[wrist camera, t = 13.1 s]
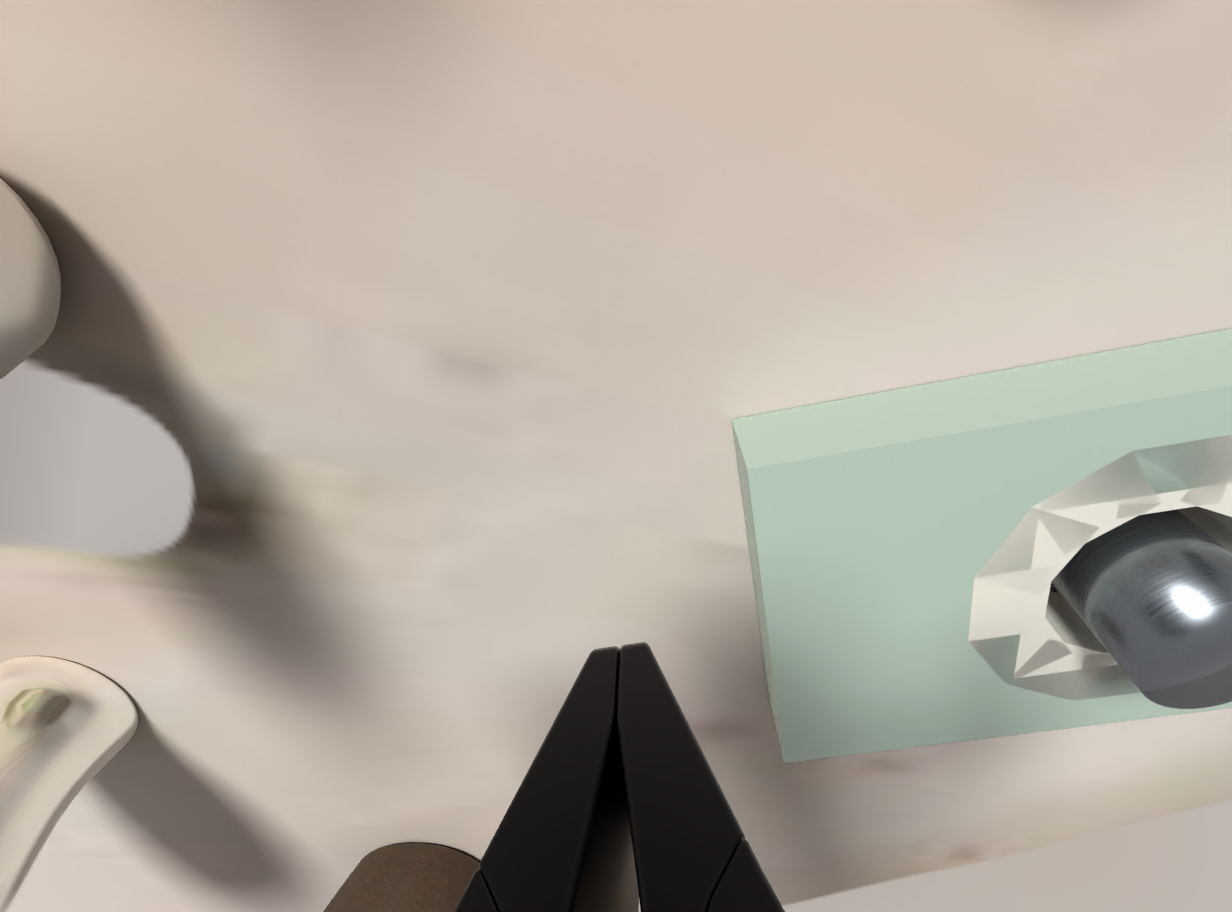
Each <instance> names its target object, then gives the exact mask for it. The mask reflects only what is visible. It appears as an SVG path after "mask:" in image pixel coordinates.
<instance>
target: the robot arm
mask: <svg viewBox="0 0 1232 912" xmlns="http://www.w3.org/2000/svg"><path fill="white" fill-rule="evenodd" d="M479 868H480V870H481V871H480V870H476V871H475V872H474V874H473V876H472V878H471V880H470V882H469V884H468V886H467V888H466V890H465V891H464V893H463V895H462V897H461V899H460V901H459V903H458V904H457V906H456V908H455V910H454V912H638V905H639V900H640V907H641V912H785V911H784V910H783V908H782V906H781V904H780V902H779V900H778V899H777V897H776V895H775V893H774V891H773V889H772V888H771V886H770V884H769V882H768V880H767V878H766V876H765V875H764V873H763V871H762V869H761V867H760V865H759V863H758V861H757V859H756V857H755V855H754V853H753V851H752V849H751V847H750V845H749V843H748V842H747V841H746V840H745V837H744V834H743V832H742V830H741V828H740V826H739V824H738V822H737V820H736V818H735V816H734V814H733V812H732V810H731V808H730V806H729V804H728V802H727V800H726V798H725V796H724V794H723V792H722V790H721V788H720V786H719V784H718V782H717V780H716V778H715V776H714V774H713V772H712V770H711V768H710V766H709V764H708V762H707V760H706V758H705V756H704V754H703V752H702V750H701V748H700V746H699V744H698V742H697V740H696V738H695V736H694V734H693V732H692V730H691V728H690V726H689V724H688V722H687V720H686V718H685V716H684V714H683V712H682V711H681V709H680V707H679V705H678V703H677V701H676V699H675V697H674V695H673V693H672V691H671V689H670V687H669V685H668V683H667V681H666V679H665V677H664V675H663V673H662V671H661V669H660V667H659V665H658V663H657V661H656V659H655V657H654V655H653V653H652V651H651V649H650V647H649V645H648V644H647V643H645V642H642V643H635V644H628V645H623V646H622V647H621V649H619V648H618V647H608V648H601V649H595V650H593V651H592V652H591V653H590V655H589V657H588V658H587V660H586V662H585V664H584V666H583V668H582V670H581V672H580V674H579V676H578V677H577V679H576V681H575V683H574V685H573V687H572V689H571V691H570V693H569V695H568V696H567V698H566V700H565V702H564V704H563V706H562V708H561V710H560V712H559V713H558V715H557V717H556V719H555V721H554V723H553V725H552V727H551V729H550V731H549V732H548V734H547V736H546V738H545V740H544V742H543V744H542V746H541V748H540V750H539V751H538V753H537V755H536V757H535V759H534V761H533V763H532V765H531V767H530V769H529V770H528V772H527V774H526V776H525V778H524V780H523V782H522V784H521V786H520V787H519V789H518V791H517V793H516V795H515V797H514V799H513V801H512V803H511V805H510V806H509V808H508V810H507V812H506V814H505V816H504V818H503V820H502V822H501V824H500V825H499V827H498V829H497V831H496V833H495V835H494V837H493V839H492V841H491V843H490V844H489V846H488V848H487V850H486V852H485V854H484V856H483V858H482V860H481V862H480V864H479Z"/></svg>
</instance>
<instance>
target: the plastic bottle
mask: <svg viewBox="0 0 1232 912" xmlns="http://www.w3.org/2000/svg"><path fill="white" fill-rule="evenodd" d="M60 298H61V276H60V271H59V266H58V262H57V258H56V255H55V253H54V250H53V248H52V245H51V243H50V240H49V238H48V236H47V235H46V233H45V231H44V230H43V228H42V226H41V225H40V223H39V221H38V219H37V218H36V217H35V215H34V214H33V213H32V212H31V210H30V209H29V208H28V206H27V205H26V204H25V203H24V201H23V200H22V199H21V198H20V197H19V196H18V195H17V194H16V193H15V192H14V191H13V190H12V189H11V188H10V187H9V186H8V185H7V184H6V183H5V182H4V181H3V180H2V179H0V379H1V378H3V377H4V376H6V375H7V374H8V373H9V372H10V371H11V370H13V369H14V368H15V367H17V366H18V365H19V364H20V363H21V362H23V361H24V360H25V359H26V358H28V357H29V356H30V355H31V354H32V353H34V352H35V351H36V350H37V349H38V348H39V347H40V346H42V345H43V344H44V343H45V342H46V341H47V339H48V338H49V336H50V334H51V333H52V331H53V329H54V328H55V324H56V320H57V316H58V312H59V307H60Z"/></svg>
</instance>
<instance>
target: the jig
mask: <svg viewBox="0 0 1232 912" xmlns="http://www.w3.org/2000/svg"><path fill="white" fill-rule="evenodd" d="M732 426H733V434H734V441H735V448H736V456H737V463H738V471H739V478H740V486H741V493H742V500H743V508H744V515H745V523H746V530H747V538H748V545H749V553H750V560H751V567H752V575H753V582H754V590H755V597H756V605H757V612H758V619H759V627H760V634H761V642H762V649H763V657H764V664H765V671H766V679H767V686H768V694H769V700H770V705H771V709H772V713H773V717H774V721H775V726H776V730H777V734H778V738H779V743H780V747H781V751H782V755H783V760H784V763H790V762H798V761H806V760H815V759H823V758H831V757H839V756H847V755H855V754H863V753H871V752H879V751H888V750H896V749H904V748H912V747H920V746H928V745H936V744H944V743H953V742H961V741H969V740H977V739H985V738H993V737H1001V736H1009V735H1017V734H1026V733H1034V732H1042V731H1050V730H1058V729H1066V728H1074V727H1082V726H1090V725H1099V724H1107V723H1115V722H1123V721H1131V720H1139V719H1147V718H1155V717H1164V716H1172V715H1180V714H1188V713H1196V712H1204V711H1212V710H1220V709H1228V708H1232V702H1229V703H1225V704H1221V705H1217V706H1212V707H1206V708H1198V709H1177V708H1170V707H1165V706H1162V705H1158V704H1156V703H1154V702H1152V701H1150V700H1149V699H1148V698H1146V697H1145V696H1144V695H1143V693H1142V692H1141V691H1140V690H1139V689H1138V687H1137V686H1136V685H1135V684H1134V683H1133V681H1132V680H1131V679H1130V678H1129V677H1128V675H1127V674H1126V673H1125V672H1124V671H1123V669H1122V668H1121V667H1120V666H1119V664H1118V663H1117V662H1116V661H1115V660H1114V658H1113V657H1112V656H1111V655H1110V654H1109V652H1108V651H1107V650H1106V649H1105V647H1104V646H1103V645H1102V644H1101V643H1100V641H1099V640H1098V639H1097V638H1096V637H1095V635H1094V634H1093V633H1092V632H1091V631H1090V629H1089V628H1088V627H1087V626H1086V624H1085V623H1084V622H1083V621H1082V620H1081V618H1080V617H1079V616H1078V615H1077V614H1076V612H1075V611H1074V610H1073V609H1072V607H1071V606H1070V605H1069V604H1068V603H1067V601H1066V600H1065V599H1064V598H1063V597H1062V595H1061V594H1060V593H1059V592H1052V591H1050V586H1051V581H1052V580H1053V579H1054V578H1055V577H1056V576H1057V574H1058V573H1059V572H1060V571H1061V570H1062V569H1063V568H1064V567H1065V565H1066V564H1067V563H1068V562H1069V561H1070V560H1071V559H1072V558H1073V557H1074V555H1075V554H1076V553H1077V552H1078V551H1079V550H1080V549H1081V548H1082V546H1083V545H1084V544H1085V543H1087V542H1089V541H1091V540H1093V539H1095V538H1097V537H1099V536H1100V535H1102V534H1104V533H1106V532H1108V531H1110V530H1112V529H1114V528H1116V527H1118V526H1119V525H1121V524H1123V523H1125V522H1127V521H1129V520H1131V519H1133V518H1135V517H1137V516H1138V515H1144V514H1150V513H1157V512H1163V511H1169V510H1176V509H1180V512H1181V513H1182V514H1183V515H1185V516H1186V517H1187V518H1188V519H1190V520H1191V521H1192V522H1193V523H1194V524H1196V525H1197V526H1198V527H1199V528H1201V529H1202V530H1203V531H1204V532H1206V533H1207V534H1208V535H1209V536H1211V537H1212V538H1213V539H1214V540H1216V541H1217V542H1218V543H1219V544H1220V545H1222V546H1223V547H1224V548H1225V549H1227V550H1228V551H1229V552H1230V553H1232V328H1231V329H1226V330H1220V331H1215V332H1209V333H1204V334H1198V335H1193V336H1187V337H1182V338H1176V339H1171V340H1165V341H1160V342H1154V343H1149V344H1143V345H1138V346H1132V347H1127V348H1121V349H1116V350H1110V351H1105V352H1099V353H1094V354H1088V355H1083V356H1077V357H1072V358H1066V359H1061V360H1055V361H1050V362H1044V363H1039V364H1033V365H1028V366H1022V367H1017V368H1011V369H1006V370H1000V371H995V372H989V373H984V374H978V375H973V376H967V377H962V378H956V379H951V380H945V381H940V382H934V383H929V384H923V385H918V386H912V387H907V388H901V389H896V390H890V391H885V392H879V393H874V394H868V395H863V396H857V397H852V398H846V399H841V400H835V401H830V402H824V403H819V404H813V405H808V406H802V407H797V408H791V409H785V410H780V411H774V412H769V413H763V414H758V415H752V416H747V417H741V418H736V419H732Z"/></svg>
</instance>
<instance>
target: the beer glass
mask: <svg viewBox="0 0 1232 912" xmlns="http://www.w3.org/2000/svg"><path fill="white" fill-rule="evenodd" d="M137 726H138V714H137V710H136V708H135V706H134V704H133V702H132V701H131V699H130V698H129V696H128V695H127V694H126V693H125V692H124V691H123V690H122V689H121V688H120V687H119V686H117V685H116V684H115V683H114V682H112V681H111V680H109V679H108V678H106V677H105V676H103V675H101V674H100V673H98V672H96V671H94V670H92V669H90V668H87V667H85V666H82V665H80V664H77V663H74V662H70V661H67V660H63V659H58V658H53V657H45V656H24V657H16V658H12V659H8V660H6V661H3V662H1V663H0V912H11V911H12V909H13V907H14V905H15V903H16V901H17V899H18V898H19V896H20V894H21V892H22V890H23V888H24V886H25V884H26V882H27V880H28V878H29V876H30V874H31V872H32V870H33V868H34V866H35V864H36V862H37V860H38V858H39V857H40V855H41V853H42V851H43V849H44V847H45V846H46V844H47V842H48V840H49V838H50V836H51V834H52V833H53V831H54V829H55V827H56V826H57V824H58V823H59V821H60V820H61V818H62V817H63V815H64V813H65V812H66V810H67V809H68V807H69V806H70V804H71V803H72V802H73V801H74V799H75V798H76V797H77V795H78V794H79V793H80V791H81V790H82V789H83V788H84V787H85V785H86V784H87V783H88V782H89V781H90V780H91V779H92V778H93V777H94V776H95V775H96V774H97V773H98V772H99V771H100V770H101V769H102V768H103V767H104V766H105V765H106V764H107V763H108V762H109V761H110V760H111V759H112V758H113V757H114V756H115V755H116V754H117V753H118V752H119V751H120V750H121V749H122V748H123V747H124V745H125V744H126V743H127V742H128V741H129V740H130V739H131V738H132V736H133V735H134V733H135V731H136V729H137Z"/></svg>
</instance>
